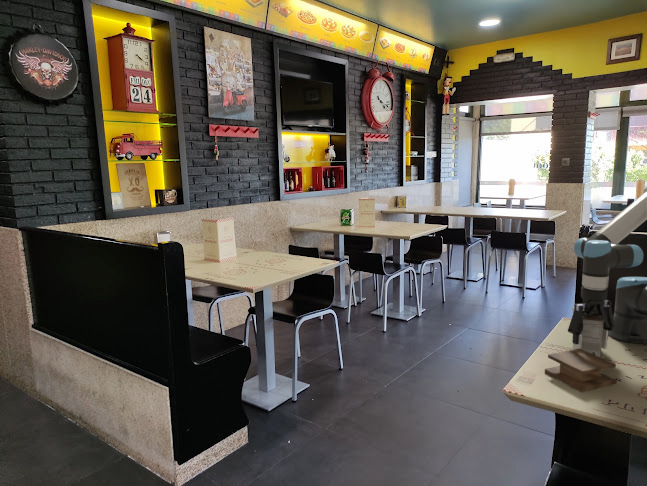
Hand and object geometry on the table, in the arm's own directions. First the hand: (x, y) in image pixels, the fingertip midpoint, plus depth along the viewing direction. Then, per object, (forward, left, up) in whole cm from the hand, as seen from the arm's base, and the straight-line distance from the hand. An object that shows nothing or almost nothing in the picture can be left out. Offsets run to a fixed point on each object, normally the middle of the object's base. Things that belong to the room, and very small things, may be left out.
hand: (589, 350), depth 156 cm
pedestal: (+14, +9, -3) cm, 17 cm away
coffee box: (0, 0, -4) cm, 4 cm away
